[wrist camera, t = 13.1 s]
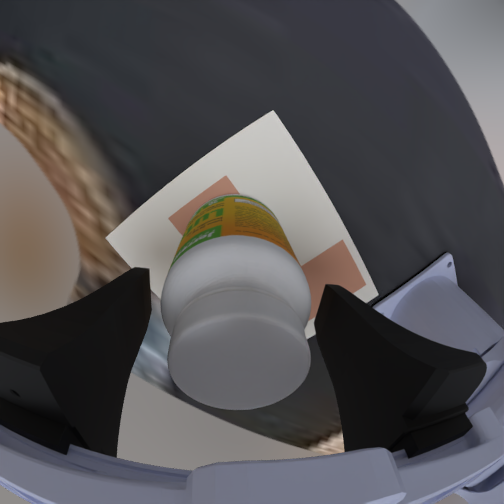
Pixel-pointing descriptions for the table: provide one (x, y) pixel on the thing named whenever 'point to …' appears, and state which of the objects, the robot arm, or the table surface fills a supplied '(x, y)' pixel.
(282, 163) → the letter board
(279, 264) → the supplement bottle
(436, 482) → the robot arm
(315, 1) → the table surface
